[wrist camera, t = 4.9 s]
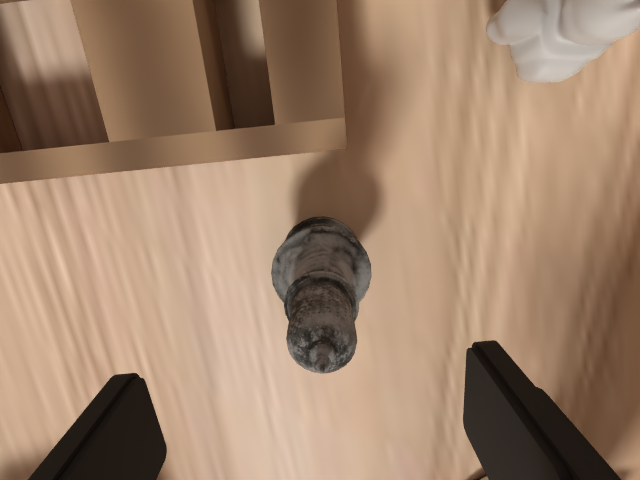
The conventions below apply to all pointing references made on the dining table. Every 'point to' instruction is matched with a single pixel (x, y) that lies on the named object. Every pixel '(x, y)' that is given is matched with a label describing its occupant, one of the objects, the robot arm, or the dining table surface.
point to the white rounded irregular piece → (560, 33)
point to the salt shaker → (321, 291)
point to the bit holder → (191, 89)
